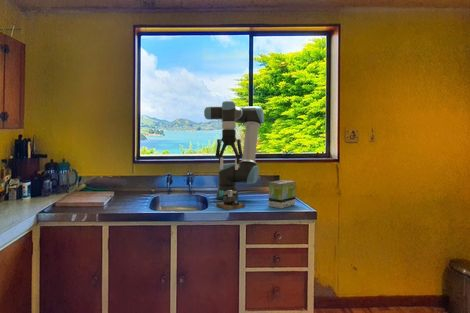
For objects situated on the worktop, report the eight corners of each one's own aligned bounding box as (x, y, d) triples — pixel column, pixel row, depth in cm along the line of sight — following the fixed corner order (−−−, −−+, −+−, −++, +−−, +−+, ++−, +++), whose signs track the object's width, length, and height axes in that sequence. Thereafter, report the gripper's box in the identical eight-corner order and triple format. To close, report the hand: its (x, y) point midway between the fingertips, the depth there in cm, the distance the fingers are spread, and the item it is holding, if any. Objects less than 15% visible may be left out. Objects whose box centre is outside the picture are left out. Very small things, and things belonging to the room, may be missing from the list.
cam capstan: (228, 201, 212) (228, 187, 211) (237, 203, 207) (237, 188, 207) (215, 205, 202) (215, 190, 201) (224, 206, 198) (224, 191, 197)
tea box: (282, 209, 202) (282, 183, 201) (268, 206, 208) (268, 182, 207) (296, 204, 213) (296, 180, 212) (282, 202, 220) (282, 179, 219)
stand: (232, 204, 216) (232, 197, 216) (244, 207, 206) (244, 200, 206) (216, 206, 209) (216, 199, 208) (228, 210, 199) (227, 202, 199)
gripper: (248, 129, 196) (248, 169, 198) (214, 129, 203) (214, 168, 205) (244, 128, 189) (244, 170, 191) (208, 129, 196) (209, 169, 198)
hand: (229, 169), depth 198 cm, fingers open, 8 cm apart
